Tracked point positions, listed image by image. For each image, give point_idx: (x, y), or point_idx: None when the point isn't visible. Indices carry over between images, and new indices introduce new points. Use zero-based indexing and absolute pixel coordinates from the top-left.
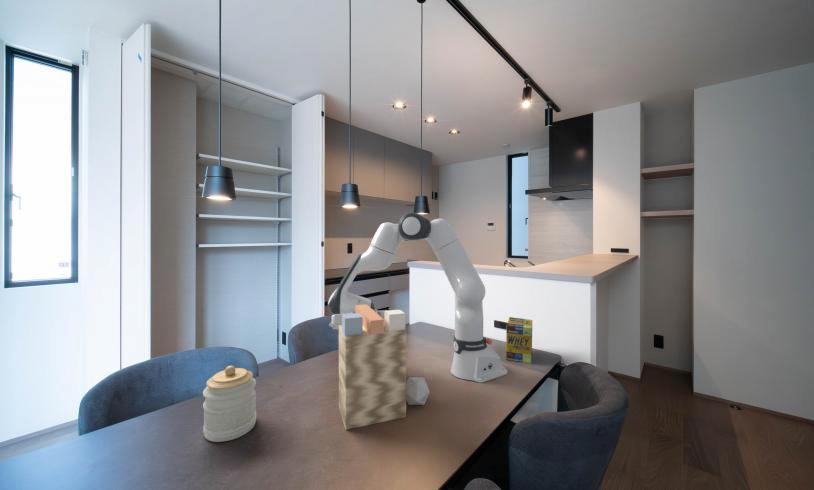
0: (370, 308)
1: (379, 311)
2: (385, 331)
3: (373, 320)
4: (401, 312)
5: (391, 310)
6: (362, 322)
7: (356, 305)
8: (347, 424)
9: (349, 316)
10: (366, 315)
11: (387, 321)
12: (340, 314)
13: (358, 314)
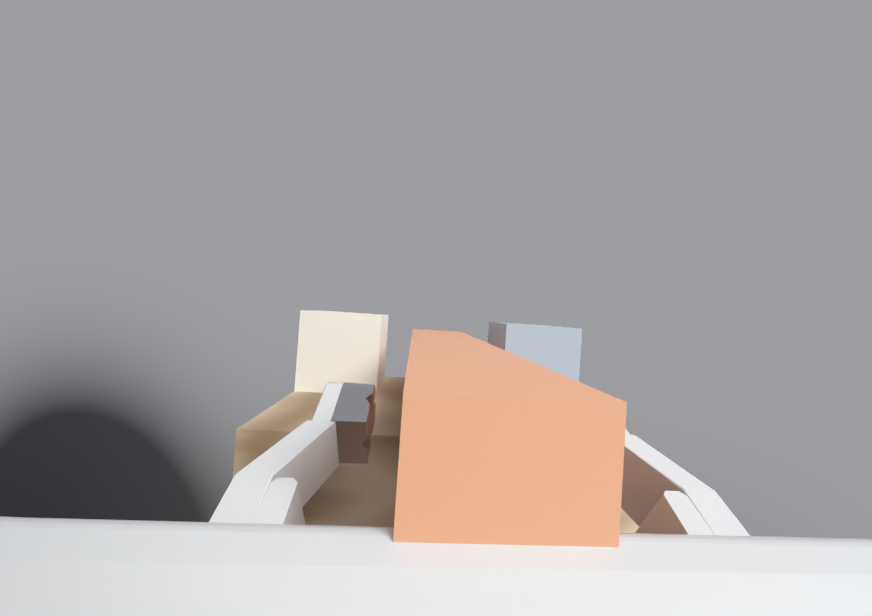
0: (416, 349)
1: (140, 524)
2: (397, 381)
3: (450, 331)
4: (329, 311)
5: (348, 313)
6: (488, 341)
7: (597, 394)
8: None
9: (539, 325)
10: (469, 337)
11: (383, 349)
12: (851, 540)
13: (506, 323)
